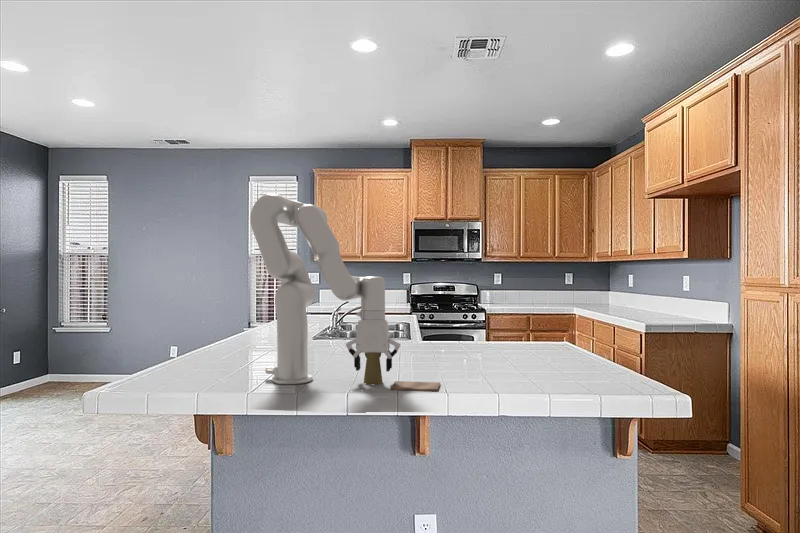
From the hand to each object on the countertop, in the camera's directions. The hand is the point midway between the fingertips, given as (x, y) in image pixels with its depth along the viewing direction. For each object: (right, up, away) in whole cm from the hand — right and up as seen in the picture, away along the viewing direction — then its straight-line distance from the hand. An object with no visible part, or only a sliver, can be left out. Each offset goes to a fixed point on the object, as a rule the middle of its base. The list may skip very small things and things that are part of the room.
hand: (373, 370), depth 166 cm
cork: (0, -4, 0) cm, 4 cm away
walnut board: (+13, -4, -7) cm, 15 cm away
